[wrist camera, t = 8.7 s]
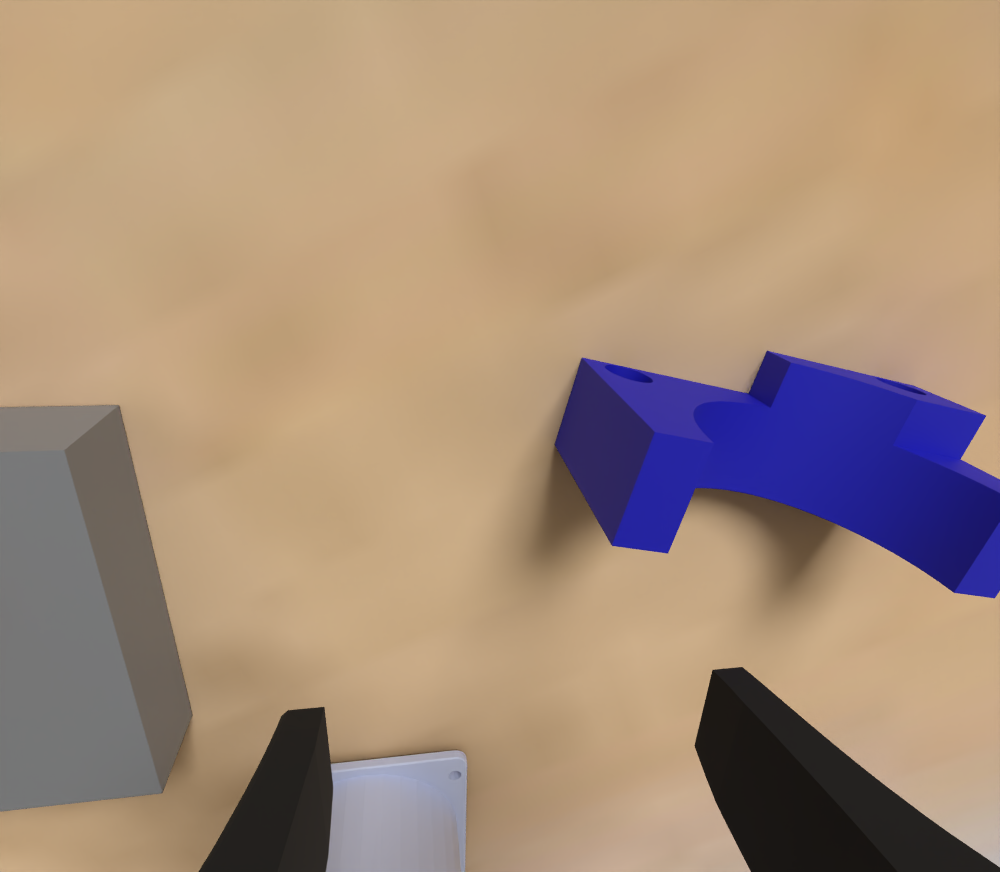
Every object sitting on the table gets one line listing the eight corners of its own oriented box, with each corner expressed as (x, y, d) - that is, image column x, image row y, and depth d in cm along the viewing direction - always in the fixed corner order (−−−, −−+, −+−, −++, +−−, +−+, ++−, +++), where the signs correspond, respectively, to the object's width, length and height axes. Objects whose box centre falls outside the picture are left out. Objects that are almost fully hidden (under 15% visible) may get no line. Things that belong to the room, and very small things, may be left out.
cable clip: (909, 384, 21) (1089, 458, 15) (850, 495, 22) (994, 598, 17) (594, 308, 18) (678, 367, 12) (553, 442, 20) (611, 545, 14)
